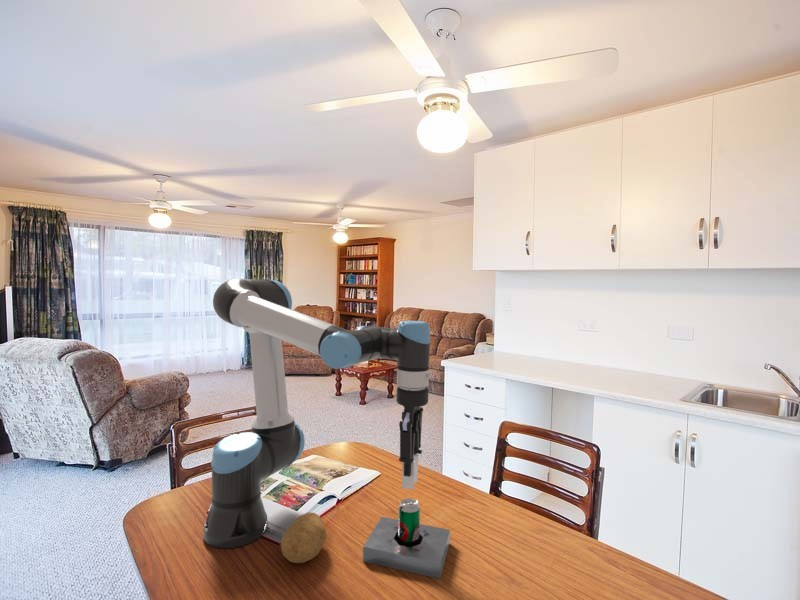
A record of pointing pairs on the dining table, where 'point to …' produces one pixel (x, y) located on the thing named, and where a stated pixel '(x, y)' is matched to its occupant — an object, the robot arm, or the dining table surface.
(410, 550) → the plate
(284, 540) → the potato
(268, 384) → the robot arm
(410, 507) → the soda can
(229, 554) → the dining table surface
